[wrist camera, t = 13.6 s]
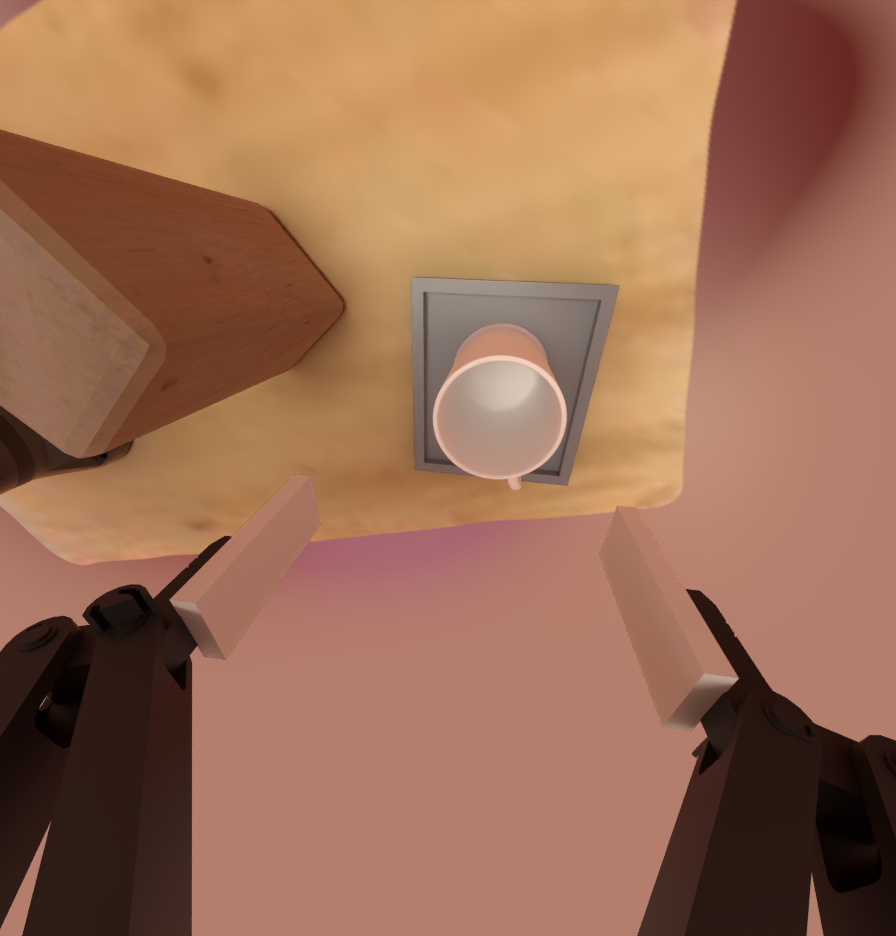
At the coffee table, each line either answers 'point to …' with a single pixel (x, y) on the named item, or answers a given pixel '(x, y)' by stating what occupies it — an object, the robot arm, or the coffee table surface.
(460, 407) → the mug
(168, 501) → the coffee table surface
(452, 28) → the coffee table surface
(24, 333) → the wooden block
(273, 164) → the coffee table surface
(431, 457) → the tray
